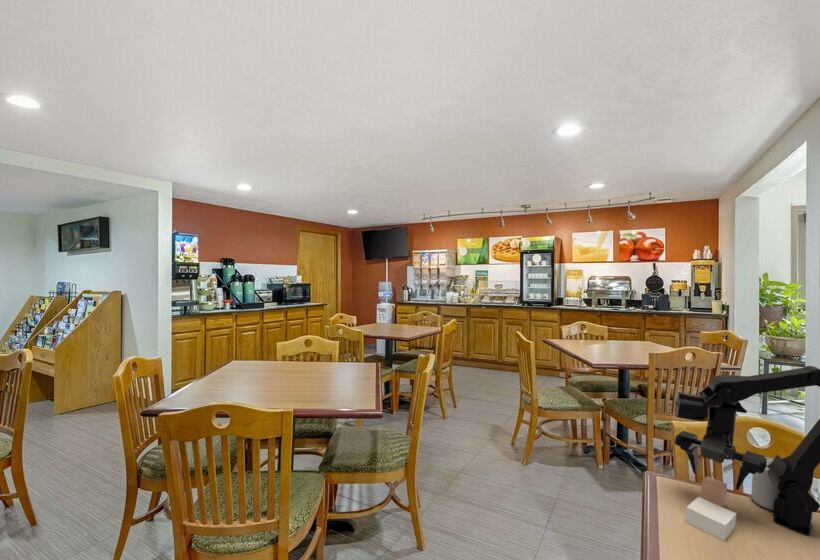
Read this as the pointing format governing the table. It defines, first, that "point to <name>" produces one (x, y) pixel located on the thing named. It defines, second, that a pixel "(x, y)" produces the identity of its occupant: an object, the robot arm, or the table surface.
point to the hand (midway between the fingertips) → (715, 481)
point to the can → (764, 488)
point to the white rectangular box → (710, 518)
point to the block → (714, 491)
